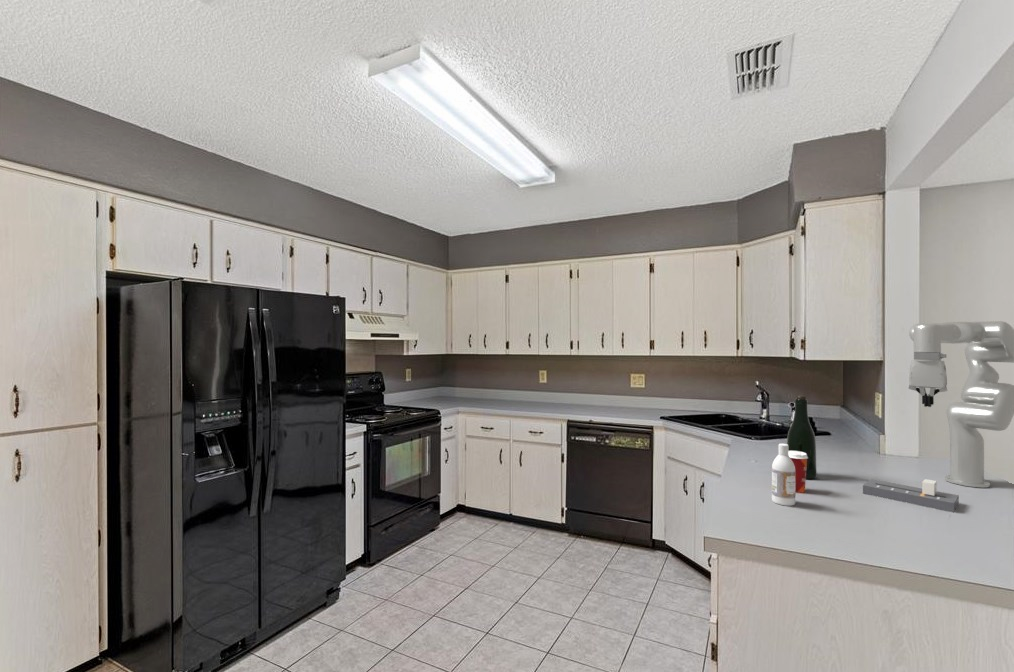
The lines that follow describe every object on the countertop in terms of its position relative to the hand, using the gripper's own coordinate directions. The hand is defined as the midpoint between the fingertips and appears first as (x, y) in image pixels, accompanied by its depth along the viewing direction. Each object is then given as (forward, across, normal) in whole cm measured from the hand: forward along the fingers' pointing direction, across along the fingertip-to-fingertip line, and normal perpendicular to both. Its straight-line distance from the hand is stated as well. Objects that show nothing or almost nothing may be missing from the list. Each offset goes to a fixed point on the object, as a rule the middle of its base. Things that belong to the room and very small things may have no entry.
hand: (927, 406), depth 171 cm
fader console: (+31, +3, +16) cm, 35 cm away
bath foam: (+30, +30, +55) cm, 70 cm away
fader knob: (+28, -2, +16) cm, 32 cm away
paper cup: (+31, +32, +37) cm, 58 cm away
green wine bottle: (+31, +37, +15) cm, 51 cm away
